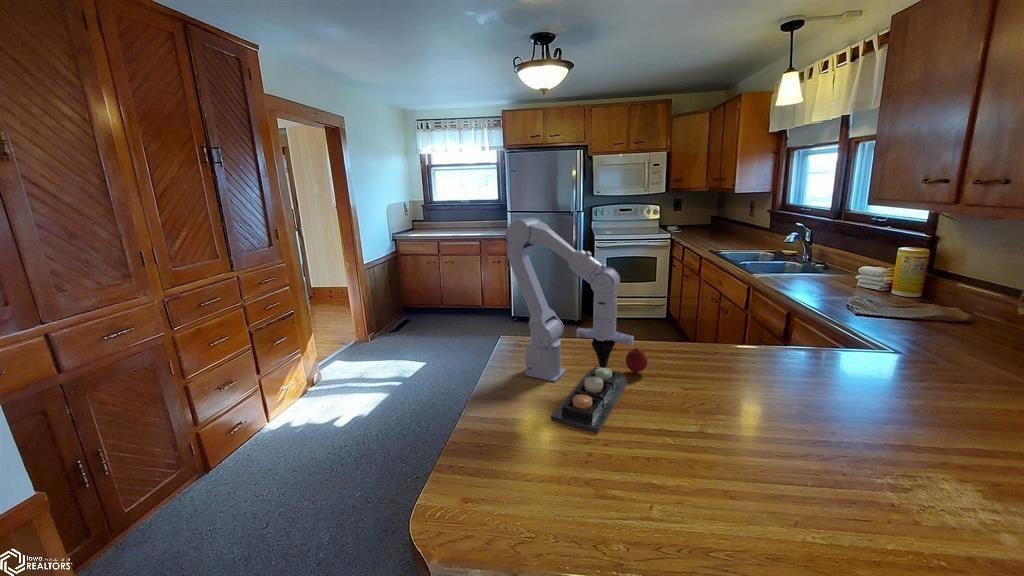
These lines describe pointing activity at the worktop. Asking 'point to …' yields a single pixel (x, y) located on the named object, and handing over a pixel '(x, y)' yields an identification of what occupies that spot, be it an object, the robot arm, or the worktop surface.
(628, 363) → the onion
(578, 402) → the button terracotta
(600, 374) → the button sage
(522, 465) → the worktop surface
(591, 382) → the button cream
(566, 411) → the tray
